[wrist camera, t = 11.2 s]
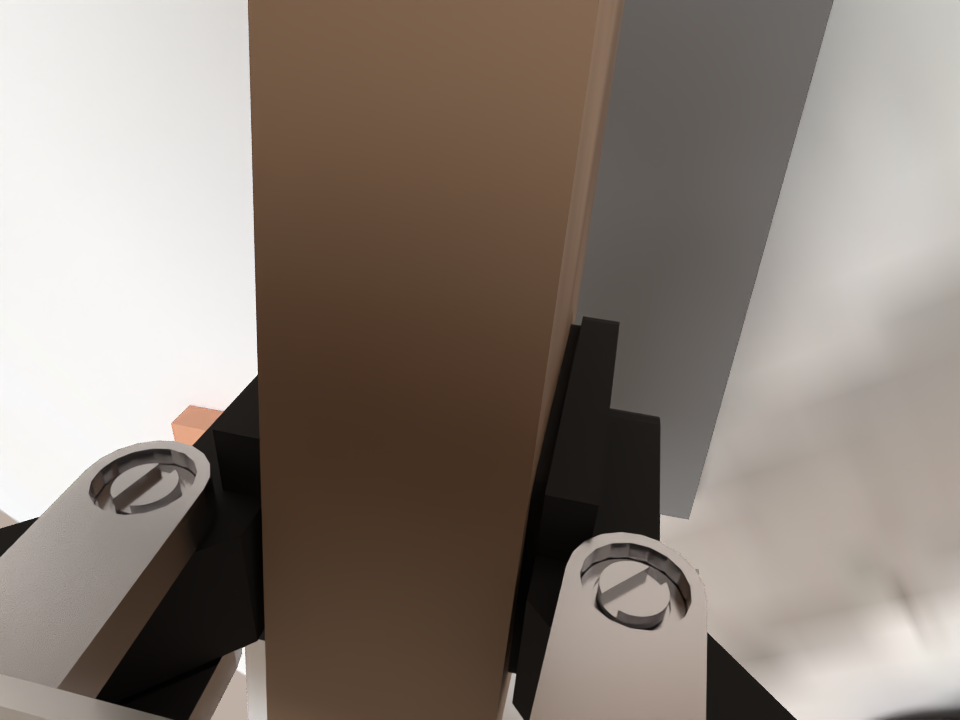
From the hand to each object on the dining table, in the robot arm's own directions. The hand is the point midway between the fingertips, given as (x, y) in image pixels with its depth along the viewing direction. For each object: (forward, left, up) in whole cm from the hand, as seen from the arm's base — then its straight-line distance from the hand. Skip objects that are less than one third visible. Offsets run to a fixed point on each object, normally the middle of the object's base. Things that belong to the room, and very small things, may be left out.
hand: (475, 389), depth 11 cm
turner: (+2, 0, 0) cm, 2 cm away
